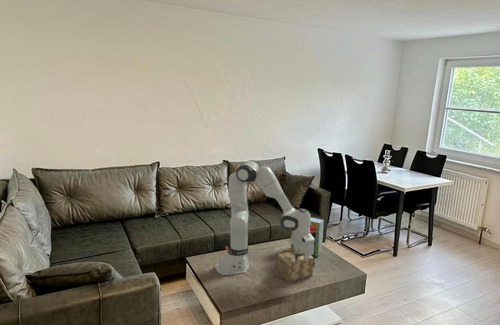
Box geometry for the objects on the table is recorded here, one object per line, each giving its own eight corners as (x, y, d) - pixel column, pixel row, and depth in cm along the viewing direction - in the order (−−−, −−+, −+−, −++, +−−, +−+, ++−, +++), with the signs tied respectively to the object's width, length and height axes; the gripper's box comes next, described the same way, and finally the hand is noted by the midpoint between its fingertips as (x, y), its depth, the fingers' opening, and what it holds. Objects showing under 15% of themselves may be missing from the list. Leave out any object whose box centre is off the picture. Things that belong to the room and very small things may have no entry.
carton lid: (289, 263, 212) (289, 256, 211) (278, 255, 224) (278, 248, 223) (313, 258, 220) (314, 251, 219) (301, 250, 231) (302, 243, 231)
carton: (288, 282, 215) (289, 264, 212) (277, 272, 226) (278, 255, 224) (312, 276, 222) (313, 258, 220) (300, 267, 234) (301, 250, 232)
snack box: (322, 253, 255) (324, 219, 250) (317, 257, 248) (320, 223, 243) (295, 245, 266) (296, 213, 261) (290, 249, 259) (291, 216, 254)
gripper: (288, 229, 222) (287, 250, 224) (307, 242, 204) (306, 264, 206) (297, 228, 224) (295, 248, 227) (316, 240, 206) (315, 262, 209)
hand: (301, 256), depth 217 cm, fingers open, 8 cm apart
